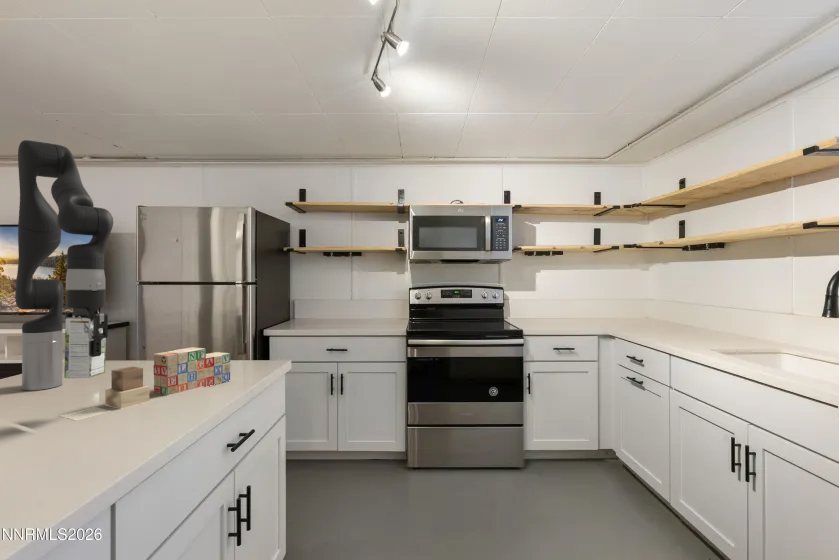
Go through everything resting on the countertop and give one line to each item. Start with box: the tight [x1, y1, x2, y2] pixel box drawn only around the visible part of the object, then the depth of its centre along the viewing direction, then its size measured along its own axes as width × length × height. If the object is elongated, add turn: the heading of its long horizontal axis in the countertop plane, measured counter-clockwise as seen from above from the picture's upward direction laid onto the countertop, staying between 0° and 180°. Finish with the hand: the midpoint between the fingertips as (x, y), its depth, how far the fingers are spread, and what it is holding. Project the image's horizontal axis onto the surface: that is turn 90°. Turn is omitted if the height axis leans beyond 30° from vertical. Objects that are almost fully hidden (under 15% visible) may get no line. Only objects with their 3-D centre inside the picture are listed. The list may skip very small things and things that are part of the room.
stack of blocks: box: [153, 346, 231, 396], centre depth 127 cm, size 21×6×12 cm, turn 155°
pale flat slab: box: [60, 400, 151, 422], centre depth 106 cm, size 15×17×1 cm
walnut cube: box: [111, 366, 144, 391], centre depth 109 cm, size 5×5×5 cm
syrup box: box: [63, 317, 107, 379], centre depth 100 cm, size 6×6×14 cm
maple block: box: [104, 384, 150, 410], centre depth 109 cm, size 7×7×4 cm
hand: (85, 354), depth 100 cm, fingers closed on syrup box, 7 cm apart
